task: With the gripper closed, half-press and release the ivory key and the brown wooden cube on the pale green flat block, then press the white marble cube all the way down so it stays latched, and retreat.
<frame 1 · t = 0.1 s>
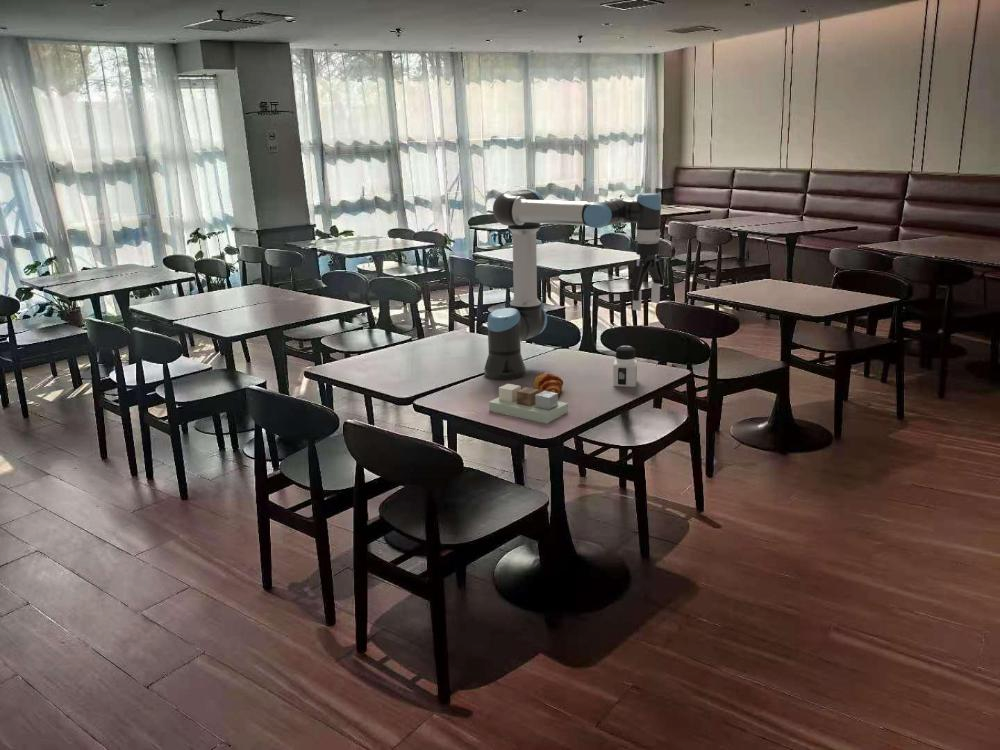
hand: (646, 306, 269), 28 cm above the table, fingers open, 13 cm apart
white marble cube: (546, 401, 250), point 4 cm above the table, slide at 0.0 cm
brown wooden cube: (528, 398, 254), point 5 cm above the table, slide at 0.0 cm
croissant: (548, 392, 275), on the table
pale green flat block: (528, 411, 256), on the table
key ivory: (509, 394, 258), point 4 cm above the table, slide at 0.0 cm
container: (624, 383, 281), on the table
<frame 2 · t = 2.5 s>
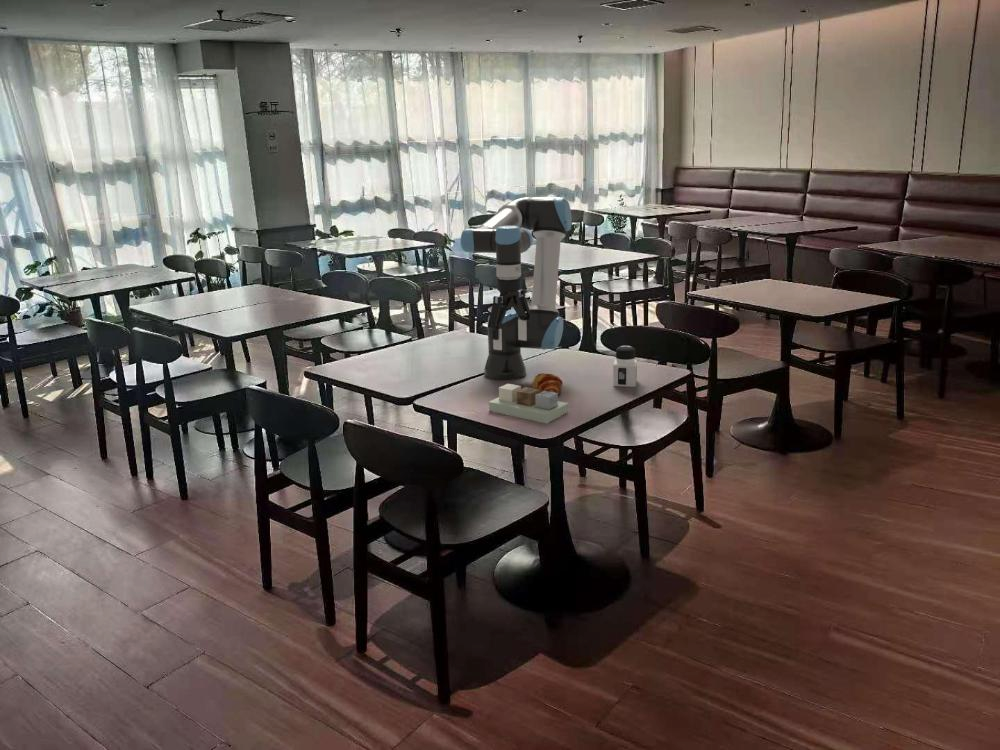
hand: (510, 344, 254), 21 cm above the table, fingers open, 13 cm apart
nothing on the table moved.
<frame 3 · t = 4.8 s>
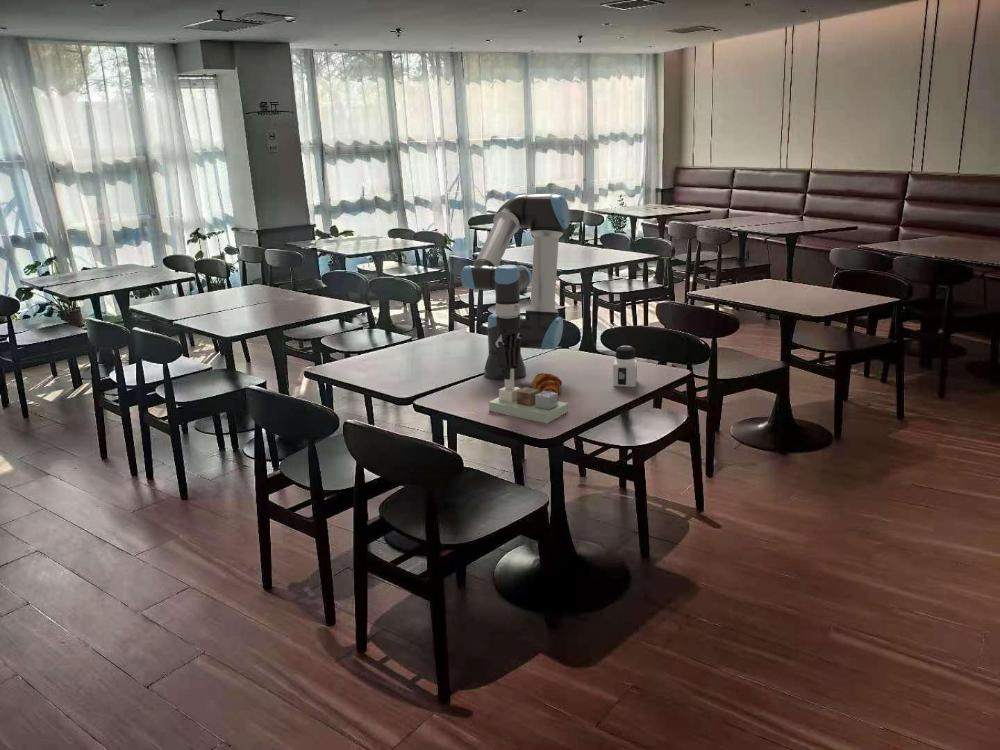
hand: (509, 388, 257), 7 cm above the table, fingers closed
key ivory: (509, 396, 258), point 4 cm above the table, slide at 0.6 cm, touching gripper
everything else where it was.
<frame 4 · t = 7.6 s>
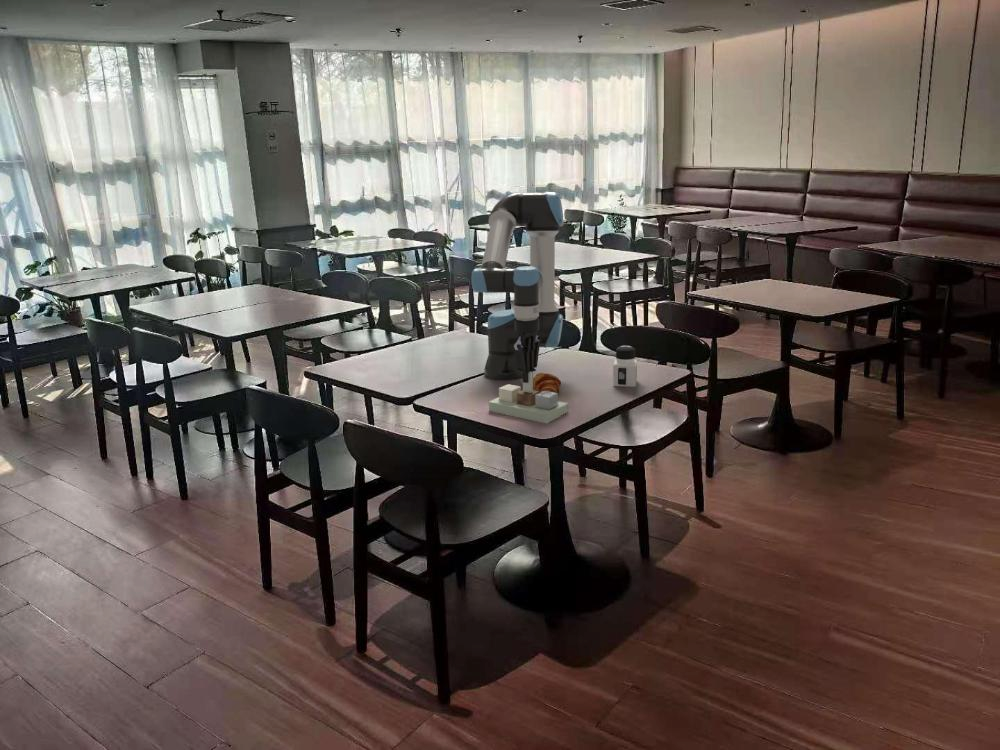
hand: (527, 391, 253), 7 cm above the table, fingers closed
brown wooden cube: (528, 399, 254), point 4 cm above the table, slide at 0.6 cm, touching gripper
key ivory: (509, 394, 258), point 4 cm above the table, slide at 0.2 cm
everything else where it was.
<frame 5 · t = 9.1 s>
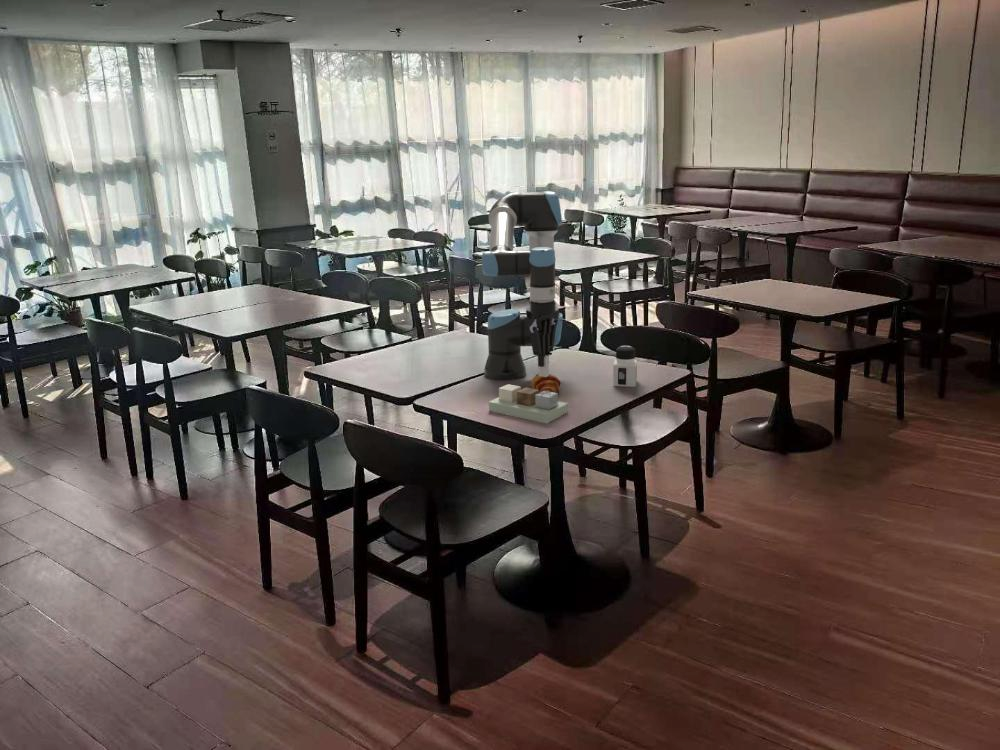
hand: (543, 375, 248), 13 cm above the table, fingers closed
brown wooden cube: (528, 398, 254), point 4 cm above the table, slide at 0.1 cm
everything else where it was.
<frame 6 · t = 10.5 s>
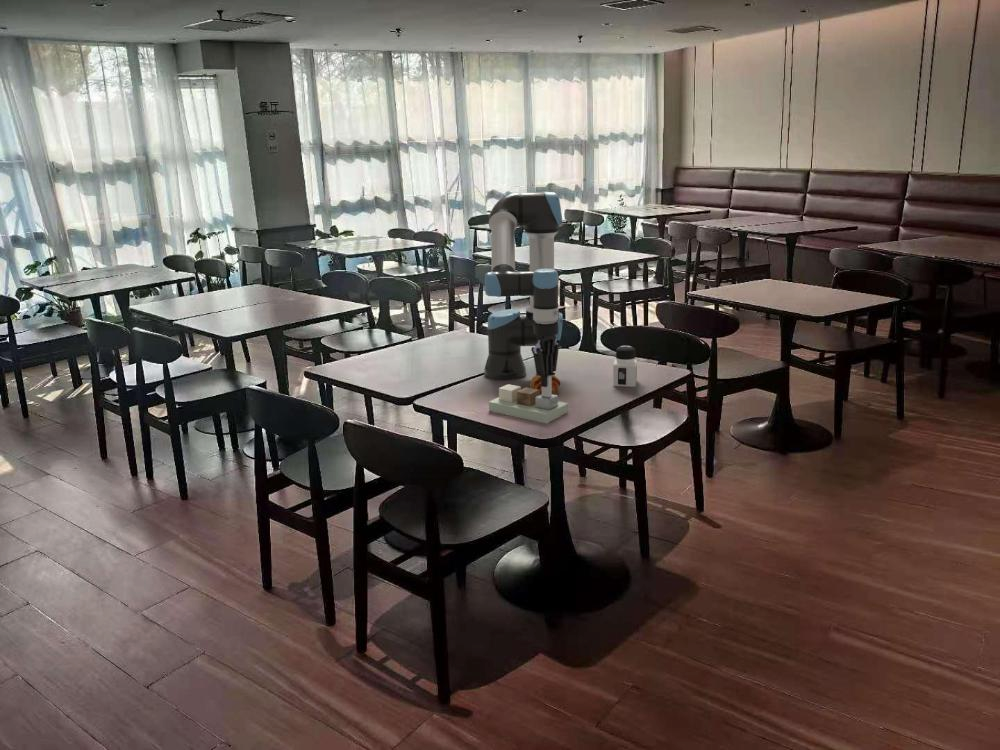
hand: (546, 395, 249), 7 cm above the table, fingers closed
white marble cube: (546, 404, 250), point 4 cm above the table, slide at 0.7 cm, touching gripper
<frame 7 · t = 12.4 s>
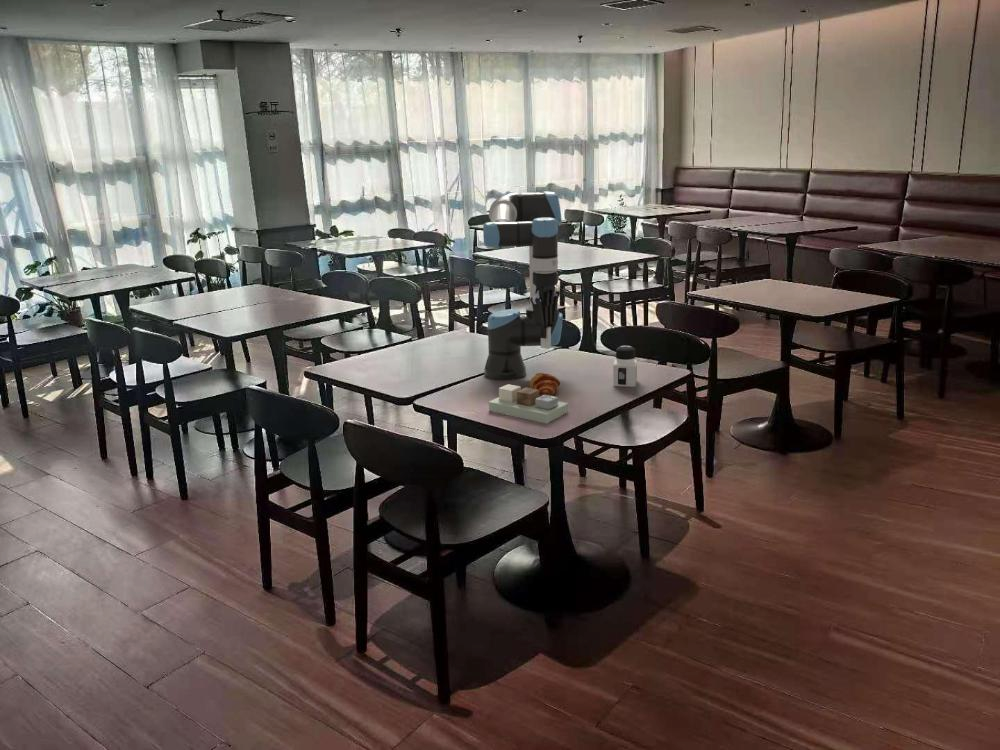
hand: (545, 347, 247), 21 cm above the table, fingers closed
white marble cube: (546, 405, 251), point 3 cm above the table, slide at 1.3 cm
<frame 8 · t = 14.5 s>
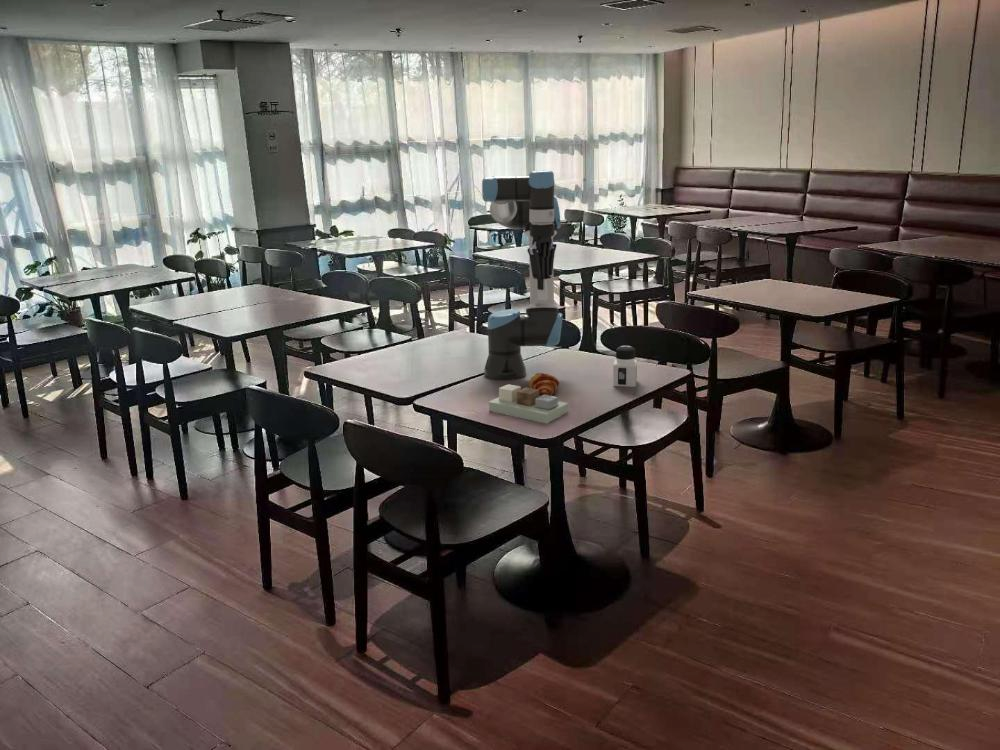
hand: (542, 299, 252), 34 cm above the table, fingers closed
at the end: white marble cube slide at 1.3 cm; key ivory slide at 0.2 cm; brown wooden cube slide at 0.1 cm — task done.
